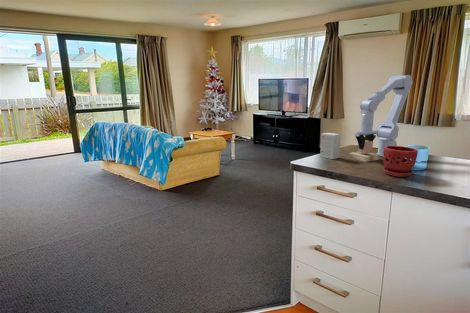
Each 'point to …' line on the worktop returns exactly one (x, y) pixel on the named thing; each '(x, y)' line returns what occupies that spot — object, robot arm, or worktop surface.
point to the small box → (330, 145)
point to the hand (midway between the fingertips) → (364, 148)
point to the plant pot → (399, 160)
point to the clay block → (366, 147)
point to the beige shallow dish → (364, 156)
